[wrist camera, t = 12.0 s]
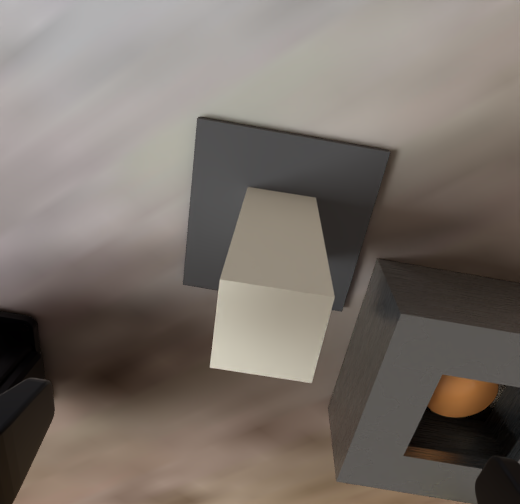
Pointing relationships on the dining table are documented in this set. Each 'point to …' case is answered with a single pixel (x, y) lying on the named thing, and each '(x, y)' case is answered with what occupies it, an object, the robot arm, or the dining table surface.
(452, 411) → the orange rounded piece
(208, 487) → the dining table surface
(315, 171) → the mat
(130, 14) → the dining table surface
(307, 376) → the cream rectangular prism
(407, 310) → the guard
